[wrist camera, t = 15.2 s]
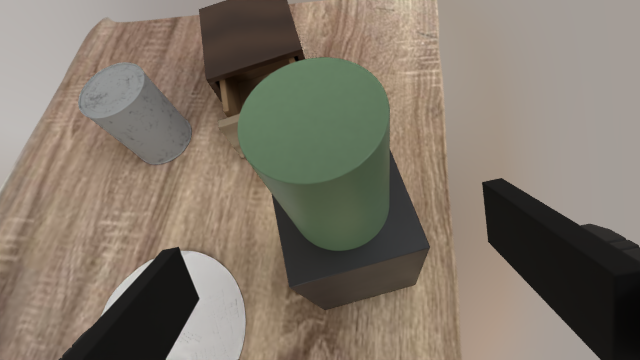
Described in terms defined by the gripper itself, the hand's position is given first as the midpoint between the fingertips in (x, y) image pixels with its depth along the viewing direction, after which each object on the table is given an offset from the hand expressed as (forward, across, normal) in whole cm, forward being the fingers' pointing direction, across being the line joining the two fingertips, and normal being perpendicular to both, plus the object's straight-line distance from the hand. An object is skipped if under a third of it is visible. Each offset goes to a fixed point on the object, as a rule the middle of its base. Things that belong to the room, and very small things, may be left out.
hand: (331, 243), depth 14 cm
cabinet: (+48, -9, +9) cm, 50 cm away
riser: (+24, 0, -15) cm, 29 cm away
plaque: (+21, -24, -18) cm, 37 cm away
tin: (+13, 0, -4) cm, 14 cm away
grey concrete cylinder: (+42, -27, +3) cm, 50 cm away
